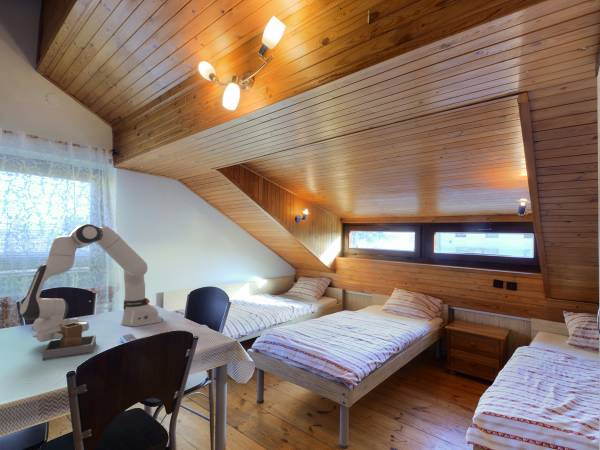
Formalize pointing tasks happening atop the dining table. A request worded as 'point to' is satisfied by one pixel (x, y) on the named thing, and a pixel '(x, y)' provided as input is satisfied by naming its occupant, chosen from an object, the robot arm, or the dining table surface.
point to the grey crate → (69, 349)
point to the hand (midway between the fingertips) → (72, 333)
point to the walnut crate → (71, 335)
